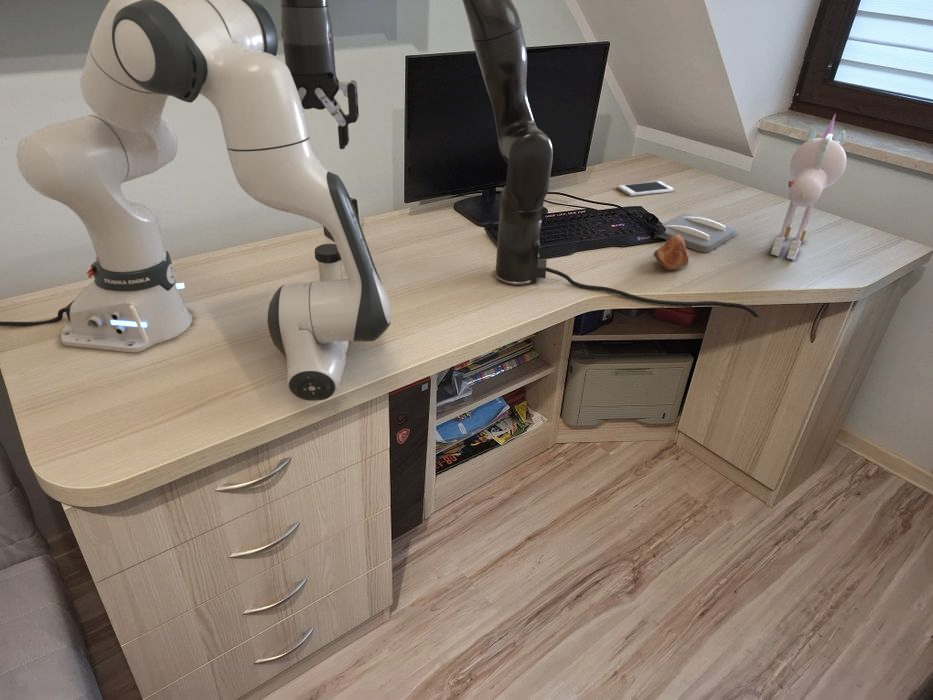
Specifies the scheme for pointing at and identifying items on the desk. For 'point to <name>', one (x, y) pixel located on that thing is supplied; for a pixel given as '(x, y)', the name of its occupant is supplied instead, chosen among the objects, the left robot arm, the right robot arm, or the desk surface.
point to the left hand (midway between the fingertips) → (332, 294)
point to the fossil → (672, 253)
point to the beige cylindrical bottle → (330, 271)
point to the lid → (327, 253)
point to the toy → (811, 180)
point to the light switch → (698, 231)
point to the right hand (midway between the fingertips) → (318, 147)
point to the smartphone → (645, 188)
